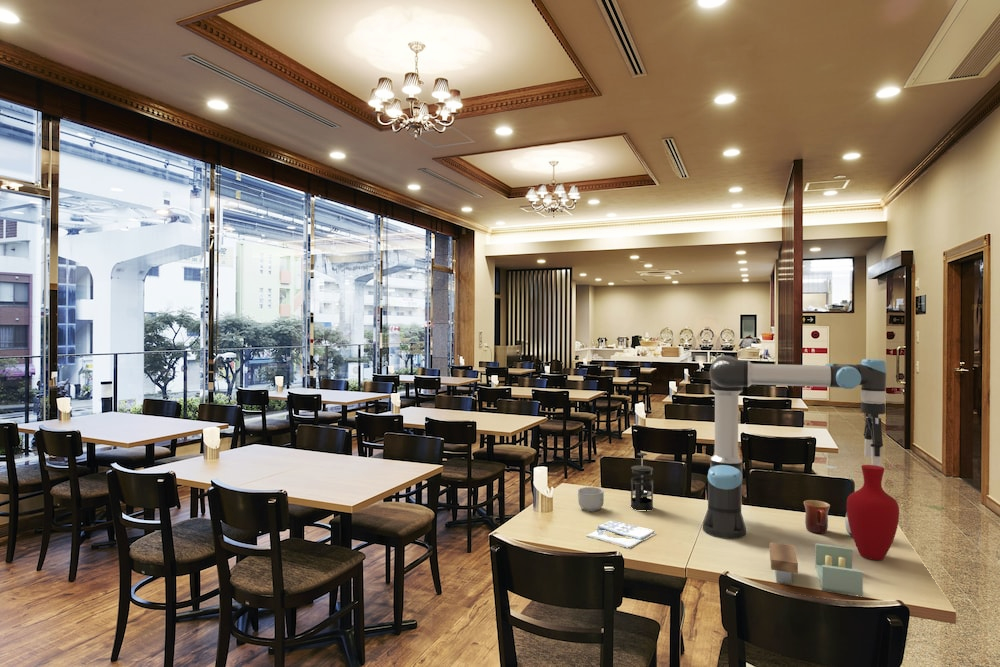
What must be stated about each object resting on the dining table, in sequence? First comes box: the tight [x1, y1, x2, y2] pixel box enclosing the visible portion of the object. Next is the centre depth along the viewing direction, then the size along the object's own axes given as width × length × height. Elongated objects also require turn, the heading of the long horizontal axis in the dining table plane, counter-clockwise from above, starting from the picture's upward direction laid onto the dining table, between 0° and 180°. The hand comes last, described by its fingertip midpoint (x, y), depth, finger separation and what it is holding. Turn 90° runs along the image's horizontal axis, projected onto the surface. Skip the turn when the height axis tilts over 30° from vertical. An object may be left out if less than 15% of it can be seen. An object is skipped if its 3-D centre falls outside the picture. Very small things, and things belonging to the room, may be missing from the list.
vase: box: [846, 464, 900, 561], centre depth 195 cm, size 15×15×30 cm
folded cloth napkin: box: [585, 520, 656, 549], centre depth 215 cm, size 19×20×2 cm
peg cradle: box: [814, 542, 864, 597], centre depth 177 cm, size 10×20×7 cm, turn 157°
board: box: [769, 542, 799, 574], centre depth 179 cm, size 7×15×3 cm, turn 157°
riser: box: [774, 570, 792, 585], centre depth 179 cm, size 4×10×4 cm, turn 157°
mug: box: [803, 499, 831, 535], centre depth 218 cm, size 12×9×10 cm
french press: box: [630, 452, 654, 512], centre depth 246 cm, size 12×9×23 cm
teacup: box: [577, 485, 605, 512], centre depth 247 cm, size 14×11×8 cm
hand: (872, 461), depth 211 cm, fingers open, 13 cm apart
